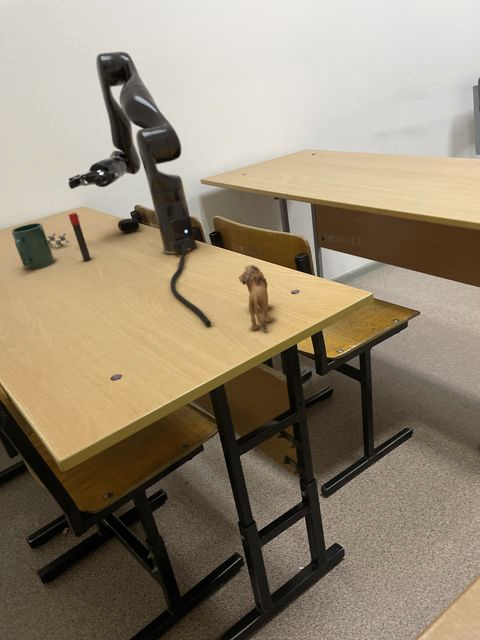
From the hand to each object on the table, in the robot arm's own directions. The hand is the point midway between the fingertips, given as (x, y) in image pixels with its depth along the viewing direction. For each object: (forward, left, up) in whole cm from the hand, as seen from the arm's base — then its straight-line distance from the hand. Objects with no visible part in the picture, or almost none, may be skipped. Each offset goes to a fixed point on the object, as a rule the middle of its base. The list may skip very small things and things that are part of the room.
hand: (83, 183), depth 158 cm
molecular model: (+19, +11, -20) cm, 30 cm away
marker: (-8, +8, -20) cm, 23 cm away
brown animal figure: (-84, -2, -20) cm, 86 cm away
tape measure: (+9, -14, -18) cm, 24 cm away
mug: (+2, +20, -20) cm, 29 cm away
